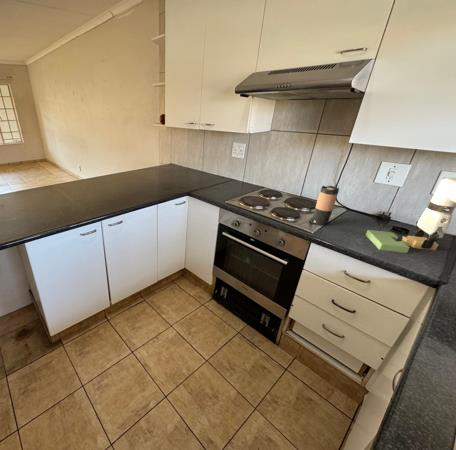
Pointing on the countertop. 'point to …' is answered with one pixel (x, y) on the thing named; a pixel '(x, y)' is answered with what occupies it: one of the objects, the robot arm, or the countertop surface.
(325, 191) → the travel mug
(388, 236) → the green pad
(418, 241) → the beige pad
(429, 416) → the countertop surface
